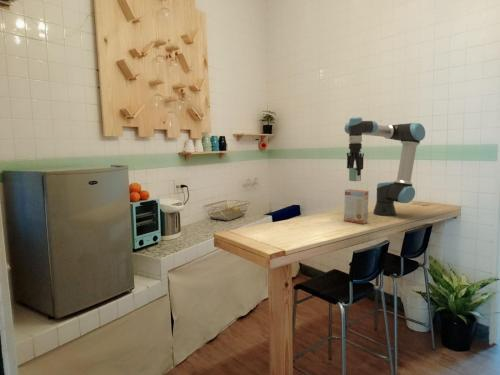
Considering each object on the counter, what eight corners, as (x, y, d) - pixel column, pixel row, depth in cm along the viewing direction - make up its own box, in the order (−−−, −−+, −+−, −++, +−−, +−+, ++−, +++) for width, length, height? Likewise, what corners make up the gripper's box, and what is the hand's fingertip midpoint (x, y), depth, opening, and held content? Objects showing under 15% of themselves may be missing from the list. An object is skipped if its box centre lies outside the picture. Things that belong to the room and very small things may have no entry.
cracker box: (367, 223, 215) (369, 190, 212) (362, 224, 211) (364, 191, 208) (348, 219, 225) (349, 188, 223) (343, 220, 221) (344, 189, 219)
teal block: (355, 180, 213) (355, 167, 212) (360, 180, 209) (361, 168, 208) (349, 180, 212) (349, 168, 211) (354, 181, 207) (354, 168, 206)
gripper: (341, 143, 214) (340, 179, 217) (360, 143, 197) (359, 182, 200) (350, 142, 217) (350, 178, 220) (370, 142, 200) (369, 181, 203)
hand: (354, 180), depth 210 cm, fingers closed on teal block, 5 cm apart
